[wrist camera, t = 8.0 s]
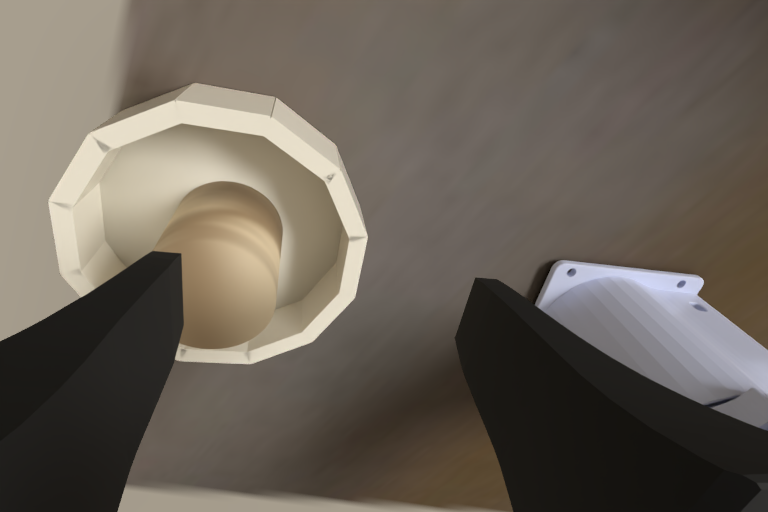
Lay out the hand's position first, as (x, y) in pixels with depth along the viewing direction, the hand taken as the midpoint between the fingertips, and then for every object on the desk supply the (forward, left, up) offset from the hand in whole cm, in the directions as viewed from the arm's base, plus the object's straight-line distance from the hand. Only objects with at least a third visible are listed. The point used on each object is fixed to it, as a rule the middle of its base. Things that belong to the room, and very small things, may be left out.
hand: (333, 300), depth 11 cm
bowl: (+4, +3, -9) cm, 10 cm away
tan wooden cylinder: (+4, +3, -9) cm, 10 cm away
